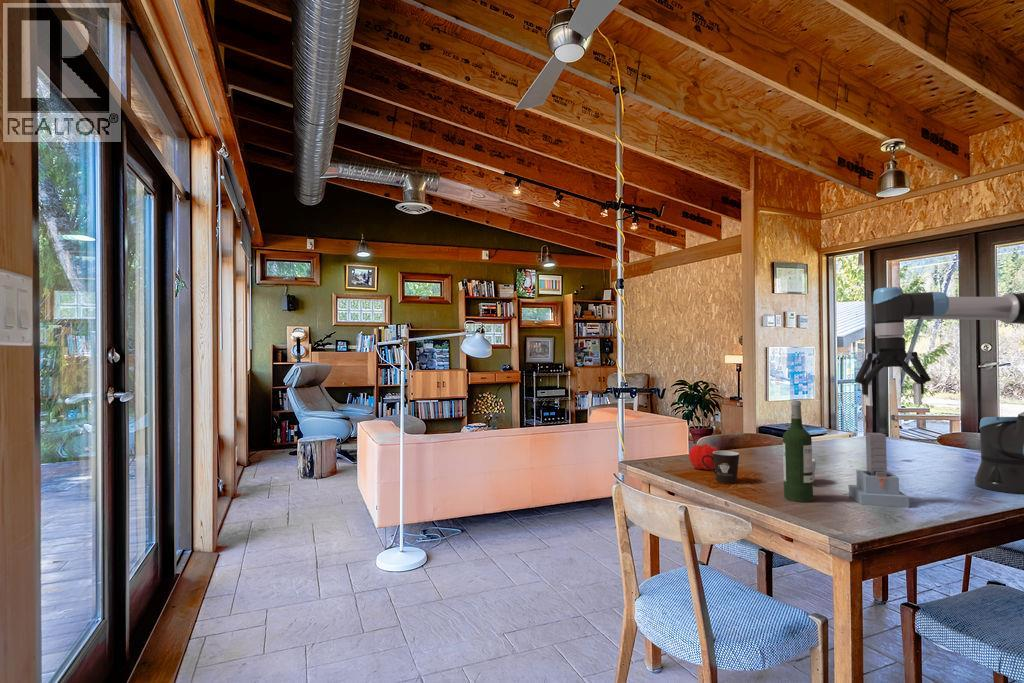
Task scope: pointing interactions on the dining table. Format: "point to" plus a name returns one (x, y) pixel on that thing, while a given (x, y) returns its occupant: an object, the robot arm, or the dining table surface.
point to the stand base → (878, 490)
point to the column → (876, 453)
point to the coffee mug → (724, 466)
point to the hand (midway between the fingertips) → (893, 405)
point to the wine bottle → (797, 459)
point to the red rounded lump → (699, 452)
